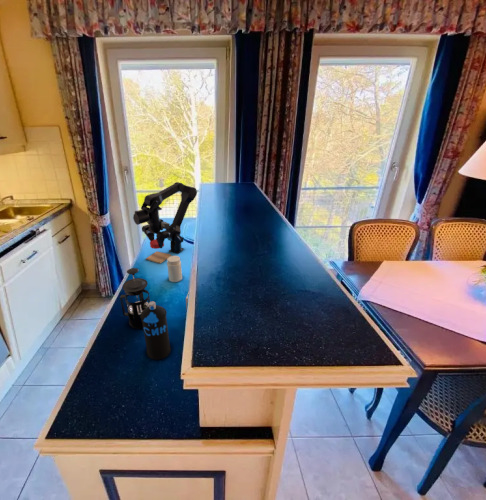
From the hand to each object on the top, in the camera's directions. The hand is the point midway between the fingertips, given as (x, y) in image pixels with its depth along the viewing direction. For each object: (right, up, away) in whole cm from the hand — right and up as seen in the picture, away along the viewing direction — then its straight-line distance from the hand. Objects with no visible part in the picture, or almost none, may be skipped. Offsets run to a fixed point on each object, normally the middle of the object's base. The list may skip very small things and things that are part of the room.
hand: (157, 246), depth 154 cm
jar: (+12, -16, -17) cm, 26 cm away
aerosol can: (+11, -37, -58) cm, 70 cm away
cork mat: (0, -7, +3) cm, 7 cm away
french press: (+1, -30, -44) cm, 53 cm away
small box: (+23, -28, -42) cm, 56 cm away
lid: (0, +2, -1) cm, 2 cm away
